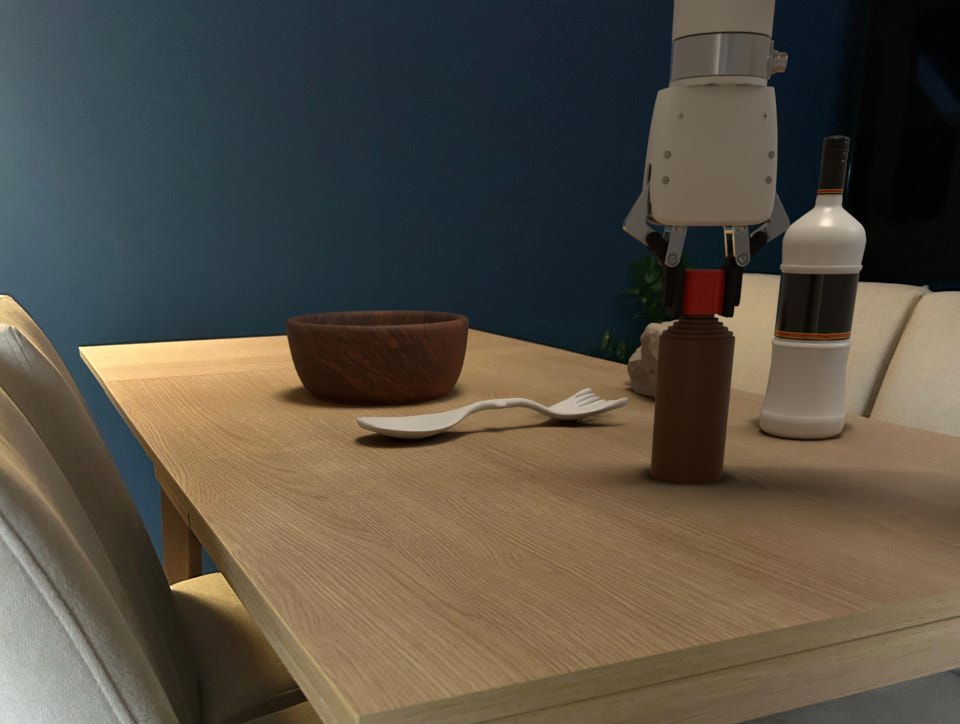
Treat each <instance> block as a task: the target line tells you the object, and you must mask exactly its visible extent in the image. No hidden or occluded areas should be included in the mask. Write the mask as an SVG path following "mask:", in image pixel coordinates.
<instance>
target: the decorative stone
mask: <svg viewBox="0 0 960 724" xmlns="http://www.w3.org/2000/svg"><path fill="white" fill-rule="evenodd" d="M675 321H679V319H674V320H671V321H663V322H661V323H656V322H651V323H648V325H646V327H645V329H644V332H643V333H642V334H641V336H640V338H639V340H640V346H639V347H637V348H636V350H635V352H634V353H633V354H631V356H630V357H629V358H628V363H627V367H626V369H627V374H628V377H629V379H630V385H631V387H632V389H633V390H634V392H635V393H636V394H639V395H644V396H648V397H653V398H655V396H656V381H657V366H658V351H659V336H660V335H662V331H664V330H668V326H671V325H673V322H675Z"/></svg>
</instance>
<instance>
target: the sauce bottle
mask: <svg viewBox="0 0 960 724" xmlns="http://www.w3.org/2000/svg"><path fill="white" fill-rule="evenodd" d="M715 315H716V314H711V315H693V314H682V316H680V317H679V318H678V320H679V321H675V322H673V325H671V326H668V330H664V331H662V335H660V336H659V351H658V366H657V381H656V396H655V397H654V412H653V413H654V414H653V427H652V441H651V443H652V444H651V445H652V446H651V457H650V471H649V472H650V476H651V478H654V479H655V480H659V481H661V482H668V483H672V484H673V483H674V484H682V485H683V484H684V485H701V484H711V483H714V482H718V481H720V480H722V479H723V471H724V462H725V461H724V460H725V451H726V441H727V432H728V431H727V430H728V419H729V410H730V409H729V408H730V400H731V399H730V397H731V390H732V389H731V388H732V379H733V369H734V368H733V367H734V359H735V358H734V356H735V348H736V347H735V346H736V336H735V335H734V331H733V330H729V327H728V326H725V325H724V322H723V321H719V320H720V319H719V317H716V316H715Z"/></svg>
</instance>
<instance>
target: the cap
mask: <svg viewBox="0 0 960 724" xmlns="http://www.w3.org/2000/svg"><path fill="white" fill-rule="evenodd" d="M684 269H685V285H684V298H683V312H682V315H683V314H693V315H711V314H715V315H718V314H721V313H722V309H723V298H724V286H725V273H726V270H719V269H717V268H716V269H715V268H714V269H712V268H711V269H710V268H709V269H708V268H691V269H690V268H689V269H688V268H687V269H686V268H684Z"/></svg>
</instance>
